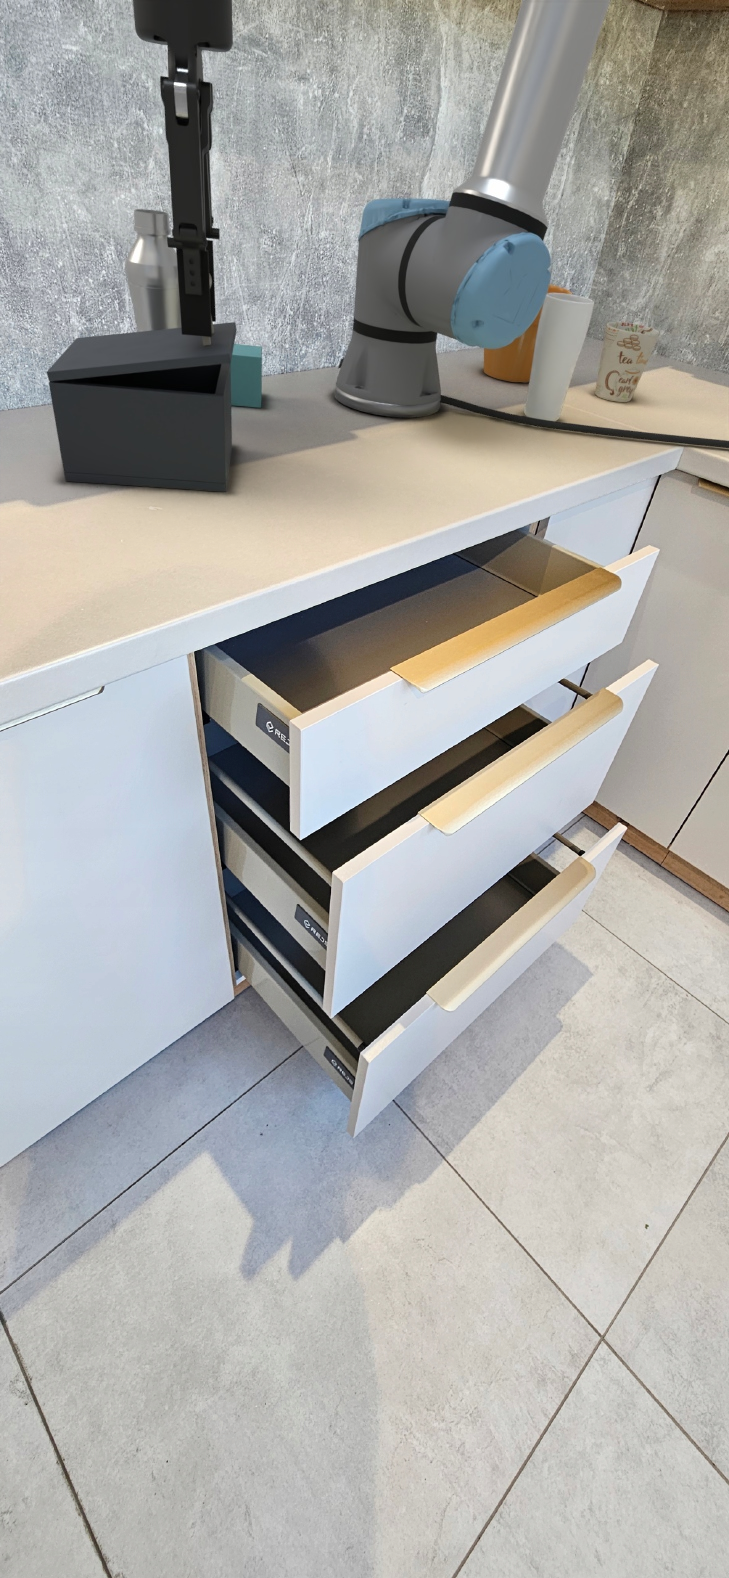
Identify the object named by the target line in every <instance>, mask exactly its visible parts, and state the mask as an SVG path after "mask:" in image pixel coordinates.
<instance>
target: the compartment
mask: <svg viewBox="0 0 729 1578" xmlns="http://www.w3.org/2000/svg"><path fill="white" fill-rule="evenodd" d="M48 387H49V392H50V399H51V405H52V409H53V410H52V411H53V417H54V420H55V429H56V433H57V440H58V446H59V451H60V458H61V463H62V469H63V474H64V481H65V482H75V483H89V484H90V483H91V484H104V485H117V486H131V487H132V486H133V487H147V488H161V489H177V490H191V491H207V492H221V493H226V492H227V488H228V481H229V473H230V465H231V458H232V450H233V427H232V425H233V422H232V420H233V419H232V418H233V417H232V405H231V364H230V363H226V364H216V365H206V366H197V367H187V368H177V369H167V370H157V371H148V372H138V373H128V374H118V375H109V376H99V377H89V378H79V379H69V380H60V381H49V382H48Z"/></svg>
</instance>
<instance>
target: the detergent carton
mask: <svg viewBox="0 0 729 1578" xmlns="http://www.w3.org/2000/svg"><path fill="white" fill-rule="evenodd" d="M230 364H231V406H235V407H246V408H258V409H261V408H262V397H263V396H262V395H263V394H262V393H263V385H262V384H263V347H262V346H260V345H252V344H251V345H250V344H240V343H234V348H233V353H232V359H231V363H230Z"/></svg>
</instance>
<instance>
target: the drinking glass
mask: <svg viewBox="0 0 729 1578" xmlns="http://www.w3.org/2000/svg"><path fill="white" fill-rule="evenodd" d="M594 306H595V301H594V300H593V299H591V298H589V297H586V296H581V295H576V294H572V295H571V294H564V293H547V295H546V298H545V300H544V303H543V307H542V311H541V315H540V319H539V324H538V329H537V335H536V341H535V348H534V355H533V361H532V368H531V375H530V381H529V382H528V387H527V394H526V399H525V404H524V408H523V413H524V415H525V417H530V418H536V419H542V420H549V421H556V422H557V421H558V420H559V419H560V417H561V414H562V410H563V407H564V402H565V400H566V398H567V394H568V392H569V387H570V385H571V382H572V379H573V377H574V373H575V370H576V368H577V364H578V362H579V359H580V356H581V353H582V351H583V347H584V344H585V341H586V338H587V335H588V332H589V328H590V324H591V320H592V316H593V312H594V311H593V310H594Z"/></svg>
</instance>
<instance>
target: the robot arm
mask: <svg viewBox="0 0 729 1578" xmlns="http://www.w3.org/2000/svg"><path fill="white" fill-rule="evenodd" d="M610 3H611V0H521V3H520V6H519V9H518V14H517V17H516V21H515V24H514V27H513V31H512V35H511V38H510V41H509V45H508V48H507V52H506V55H505V58H504V62H503V65H502V68H501V72H500V75H499V79H498V82H497V85H496V90H495V93H494V97H493V100H492V103H491V107H490V110H489V114H488V117H487V120H486V124H485V127H484V129H483V130H484V131H483V134H482V137H481V140H480V144H479V148H478V152H477V154H476V158H475V162H474V165H473V168H472V172H471V175H470V177H468V179H466V180H465V181H464V182H462V183H461V184H460V185H458V186H457V187H456V188H454V189H453V190H452V193H451V197H450V200H445V199H433V198H432V199H431V198H403V197H401V198H398V197H397V198H396V197H395V198H394V197H393V198H392V197H391V198H377V199H372V200H370V201H369V202H368V203H366V205H365V207H364V208H363V211H362V217H361V222H360V223H361V224H360V228H359V234H358V238H357V241H358V249H357V263H356V275H355V276H356V277H355V292H354V306H353V320H352V321H353V324H352V333H351V339H350V340H349V343H348V346H347V349H346V352H345V355H344V357H343V358H341V359H340V361H339V364H338V367H337V369H338V370H339V371H338V374H337V376H336V380H335V384H334V385H335V386H334V387H335V388H334V397H335V399H336V400H337V401H338V402H339V403H340V404H342V405H344V406H346V407H349V408H351V409H354V410H357V411H360V412H363V413H367V414H372V415H378V416H385V417H393V418H420V417H427V416H431V415H433V414H435V413H437V412H438V411H439V410H440V407H441V404H443V405H447V406H451V407H454V408H459V409H462V410H465V411H468V412H470V413H474V414H478V415H481V416H485V417H490V418H493V419H497V420H501V421H506V422H511V423H516V424H520V425H526V426H531V427H537V428H544V429H550V430H557V431H558V430H559V431H564V432H565V431H566V432H567V431H568V432H575V433H584V434H590V435H599V436H607V437H614V438H615V437H616V438H623V439H624V438H625V439H633V440H634V439H635V440H643V441H653V442H663V443H672V444H682V445H689V446H690V445H691V446H700V447H710V448H722V449H729V440H727V439H716V438H715V439H714V438H707V437H706V438H705V437H695V436H685V435H675V434H666V433H658V432H657V433H656V432H646V431H638V430H630V429H629V430H628V429H621V428H611V427H603V426H595V425H587V424H580V423H571V422H563V421H557V420H556V421H549V420H542V419H536V418H530V417H527V416H526V415H525V416H524V415H520V414H515V413H511V412H504V411H500V410H497V409H492V408H488V407H485V406H480V405H477V404H474V403H471V402H468V401H464V400H461V399H457V398H454V397H451V396H447V395H443V394H442V387H441V379H440V372H439V364H438V355H437V340H438V339H437V338H438V335H442V336H445V337H448V338H450V339H453V340H455V341H457V342H459V343H461V344H463V345H465V346H468V347H479V348H482V349H484V348H486V349H498V348H502V347H505V346H507V345H509V344H510V343H512V342H513V341H514V339H515V338H518V337H520V336H521V335H522V334H523V333H524V332H525V331H526V330H527V329H528V328H529V327H530V325H531V324H532V323H533V321H534V320H535V318H536V316H537V315H538V313H539V311H540V309H541V307H542V305H543V303H544V300H545V298H546V295H547V292H548V288H549V284H550V283H551V277H552V273H551V271H550V270H549V268H550V267H551V266H552V261H551V260H552V259H551V254H550V251H549V248H548V246H547V245H546V244H545V242H544V239H545V237H546V234H547V232H548V228H549V221H548V219H547V216H546V212H545V209H544V198H545V196H546V192H547V191H548V187H549V184H550V181H551V179H552V176H553V172H554V169H555V166H556V163H557V160H558V157H559V154H560V152H561V148H562V145H563V144H564V143H563V142H564V140H565V136H566V133H567V130H568V129H569V128H568V127H569V125H570V122H571V119H572V116H573V113H574V111H575V107H576V104H577V101H578V97H579V95H580V92H581V89H582V86H583V83H584V81H585V77H586V74H587V72H588V68H589V65H590V62H591V59H592V56H593V54H594V50H595V48H596V45H597V41H598V39H599V36H600V33H601V30H602V26H603V24H604V21H605V18H606V14H607V13H608V10H609V9H608V8H609V6H610ZM132 9H133V18H134V29H135V33H136V36H137V37H138V38H139V39H140V40H141V41H143V42H147V43H151V44H154V45H155V44H156V45H157V44H158V45H160V46H167V52H166V53H167V76H163V75H160V76H159V86H160V87H159V88H160V90H159V91H160V98H161V102H162V104H163V108H164V129H165V140H166V143H167V148H168V149H167V151H168V165H169V182H170V183H169V184H170V197H171V214H172V229H171V236H172V237H170V236H168V237H167V244H168V247H169V248H174V249H175V252H176V253H177V269H178V284H179V299H180V314H181V329H182V335H194V336H206V337H212V326H211V316H212V322H214V323H215V322H217V312H216V311H217V310H216V287H215V285H216V284H215V283H216V282H215V258H214V240H220V238H221V237H220V235H221V234H220V233H221V232H220V230H221V229H220V228H218V227H213V226H214V223H215V221H214V216H213V207H212V204H213V203H212V180H211V178H212V177H211V157H210V151H211V149H212V146H213V127H212V113H213V110H214V109H213V108H214V88H213V87H214V86H213V85H214V84H213V83H211V81H204V65H203V64H204V63H203V51H207V52H213V53H227V52H229V51H231V50H232V48H233V44H234V33H233V31H234V30H233V29H234V28H233V26H234V25H233V0H132ZM209 273H210V275H211V278H212V285H211V288H210V279H209ZM550 285H551V284H550Z"/></svg>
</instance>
